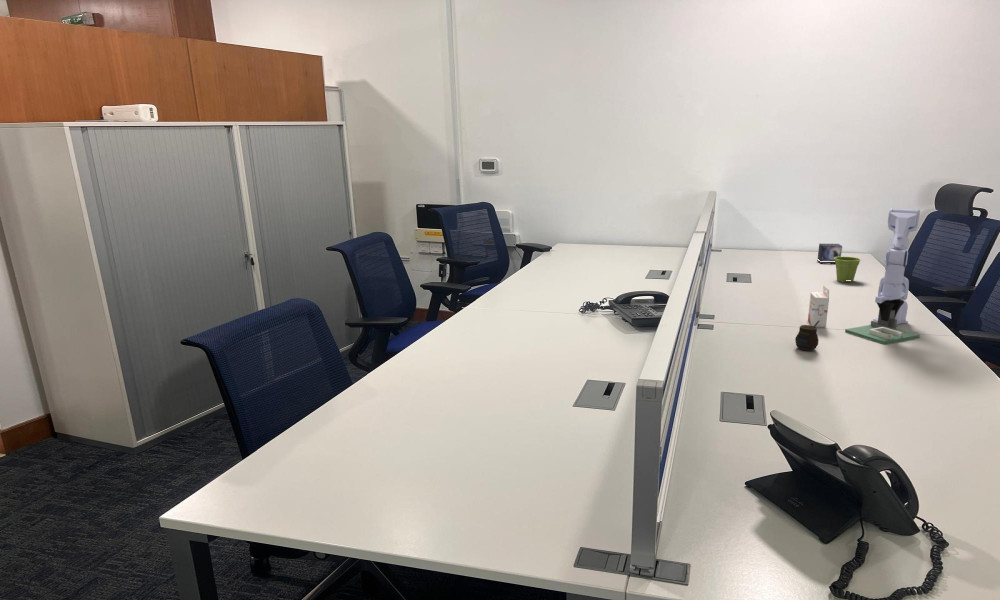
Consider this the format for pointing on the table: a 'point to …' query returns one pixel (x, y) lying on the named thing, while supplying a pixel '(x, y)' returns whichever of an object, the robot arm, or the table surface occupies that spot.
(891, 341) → the board
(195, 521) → the table surface
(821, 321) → the ink cartridge box
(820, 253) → the small box
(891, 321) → the plug
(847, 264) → the plant pot
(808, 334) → the mate gourd
